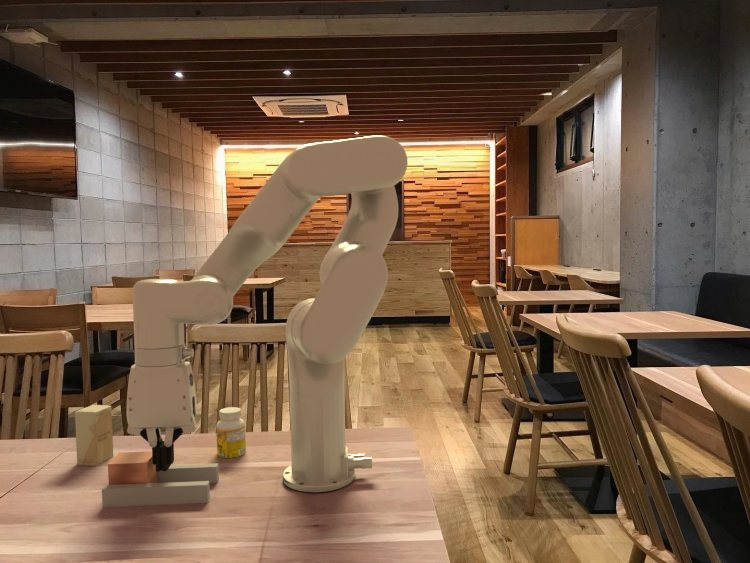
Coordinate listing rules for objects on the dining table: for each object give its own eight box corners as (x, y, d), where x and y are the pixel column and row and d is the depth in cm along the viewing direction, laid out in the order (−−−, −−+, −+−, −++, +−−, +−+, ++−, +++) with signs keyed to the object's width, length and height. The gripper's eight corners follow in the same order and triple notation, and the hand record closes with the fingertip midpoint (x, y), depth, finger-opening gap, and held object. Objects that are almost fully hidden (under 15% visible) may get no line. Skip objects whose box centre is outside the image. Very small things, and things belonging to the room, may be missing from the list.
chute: (220, 482, 103) (220, 459, 102) (206, 514, 91) (205, 489, 91) (78, 488, 101) (77, 465, 101) (44, 521, 89) (42, 496, 89)
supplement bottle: (248, 461, 112) (246, 411, 112) (219, 466, 110) (217, 415, 109) (243, 452, 117) (241, 404, 117) (215, 456, 115) (213, 408, 114)
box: (96, 472, 108) (93, 412, 107) (76, 470, 109) (73, 411, 108) (115, 461, 113) (112, 404, 112) (95, 460, 114) (92, 403, 113)
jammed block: (157, 486, 99) (156, 451, 98) (148, 499, 94) (146, 462, 93) (120, 487, 98) (119, 452, 98) (109, 501, 93) (107, 464, 93)
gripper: (212, 351, 99) (215, 458, 100) (120, 352, 98) (124, 461, 99) (202, 360, 91) (205, 476, 93) (102, 362, 90) (107, 479, 92)
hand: (163, 468), depth 96 cm, fingers closed
